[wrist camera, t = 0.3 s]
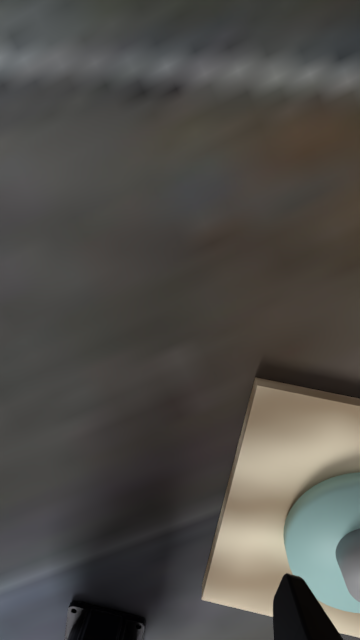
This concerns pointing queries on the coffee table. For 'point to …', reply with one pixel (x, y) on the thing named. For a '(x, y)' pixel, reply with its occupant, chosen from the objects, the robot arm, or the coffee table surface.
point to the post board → (278, 490)
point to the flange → (327, 541)
